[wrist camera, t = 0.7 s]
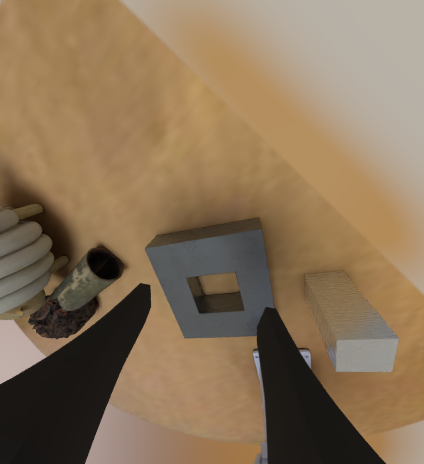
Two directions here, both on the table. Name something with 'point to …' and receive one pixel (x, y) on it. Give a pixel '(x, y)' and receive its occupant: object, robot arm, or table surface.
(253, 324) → the grey slab with hole
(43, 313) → the tube with rough end
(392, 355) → the grey wooden block
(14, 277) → the toy sheep
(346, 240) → the table surface
